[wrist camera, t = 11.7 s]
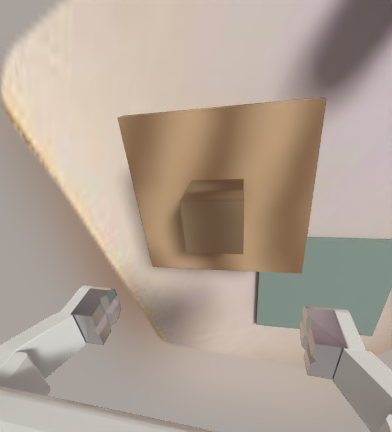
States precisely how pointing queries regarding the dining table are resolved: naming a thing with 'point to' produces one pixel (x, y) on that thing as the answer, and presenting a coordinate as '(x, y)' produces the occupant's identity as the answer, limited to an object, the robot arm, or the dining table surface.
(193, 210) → the cover
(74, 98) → the dining table surface
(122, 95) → the dining table surface
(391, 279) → the mat
